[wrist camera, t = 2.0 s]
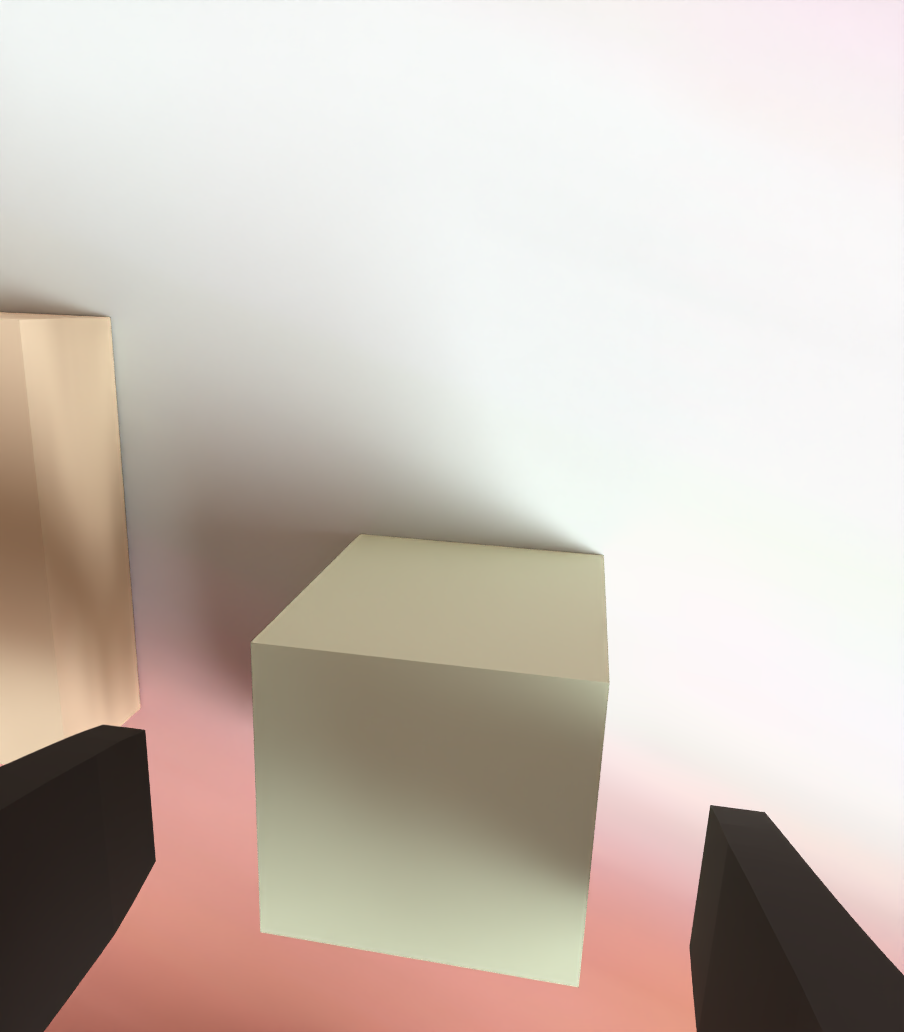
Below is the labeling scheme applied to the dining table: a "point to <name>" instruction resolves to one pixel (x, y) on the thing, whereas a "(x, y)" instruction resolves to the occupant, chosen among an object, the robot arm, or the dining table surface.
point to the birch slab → (61, 535)
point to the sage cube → (434, 754)
